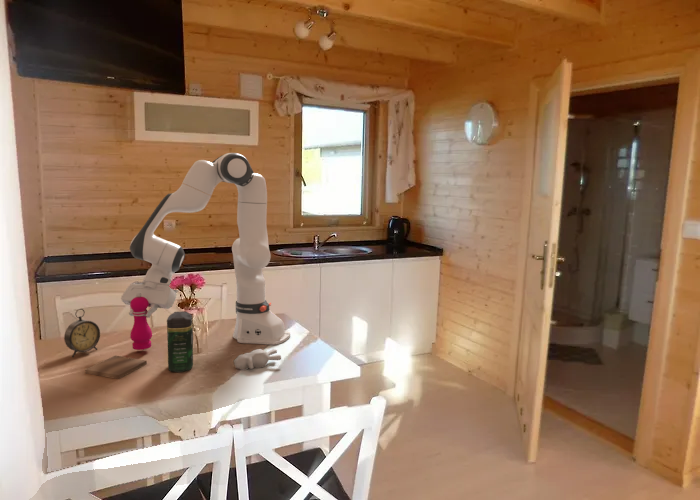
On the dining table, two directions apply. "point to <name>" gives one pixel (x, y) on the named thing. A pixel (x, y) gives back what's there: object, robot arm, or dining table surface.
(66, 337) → the alarm clock
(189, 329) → the coffee jar
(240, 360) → the bunny figurine
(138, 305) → the pepper mill
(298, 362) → the dining table surface
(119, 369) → the walnut board
